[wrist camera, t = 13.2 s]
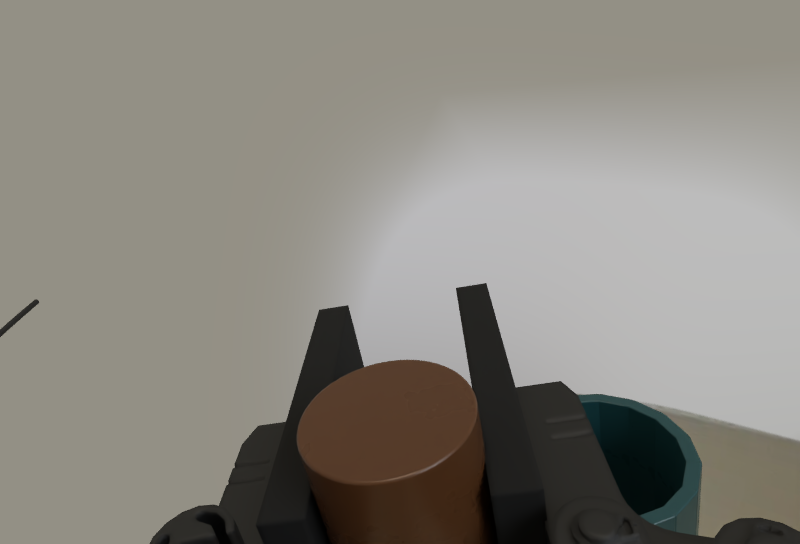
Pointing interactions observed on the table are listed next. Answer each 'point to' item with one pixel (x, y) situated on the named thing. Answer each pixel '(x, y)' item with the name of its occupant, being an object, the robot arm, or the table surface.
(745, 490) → the table surface
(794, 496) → the table surface
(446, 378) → the lid
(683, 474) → the teal pencil holder
